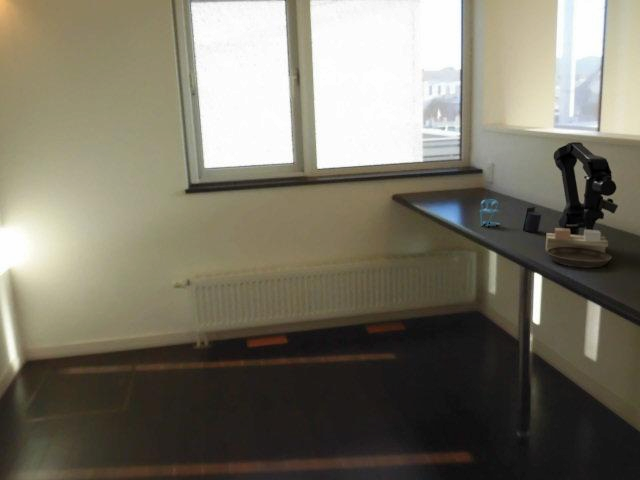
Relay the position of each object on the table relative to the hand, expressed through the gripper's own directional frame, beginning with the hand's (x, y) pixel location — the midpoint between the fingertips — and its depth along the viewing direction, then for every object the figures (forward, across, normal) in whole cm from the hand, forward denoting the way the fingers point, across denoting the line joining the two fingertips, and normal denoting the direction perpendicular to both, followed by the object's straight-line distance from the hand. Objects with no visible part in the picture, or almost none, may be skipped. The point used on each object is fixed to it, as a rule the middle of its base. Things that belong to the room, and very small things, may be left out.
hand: (589, 233), depth 222 cm
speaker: (+7, +32, +19) cm, 38 cm away
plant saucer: (+7, -19, +5) cm, 21 cm away
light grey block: (+1, -8, 0) cm, 8 cm away
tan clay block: (+1, -8, +10) cm, 13 cm away
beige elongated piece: (+7, -6, +5) cm, 10 cm away
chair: (+7, +40, +38) cm, 56 cm away
